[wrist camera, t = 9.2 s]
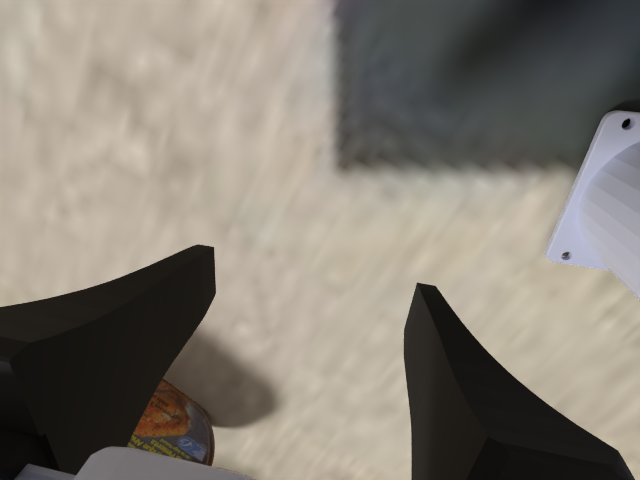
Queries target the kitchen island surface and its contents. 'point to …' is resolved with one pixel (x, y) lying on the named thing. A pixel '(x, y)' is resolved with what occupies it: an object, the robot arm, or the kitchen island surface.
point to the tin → (175, 427)
